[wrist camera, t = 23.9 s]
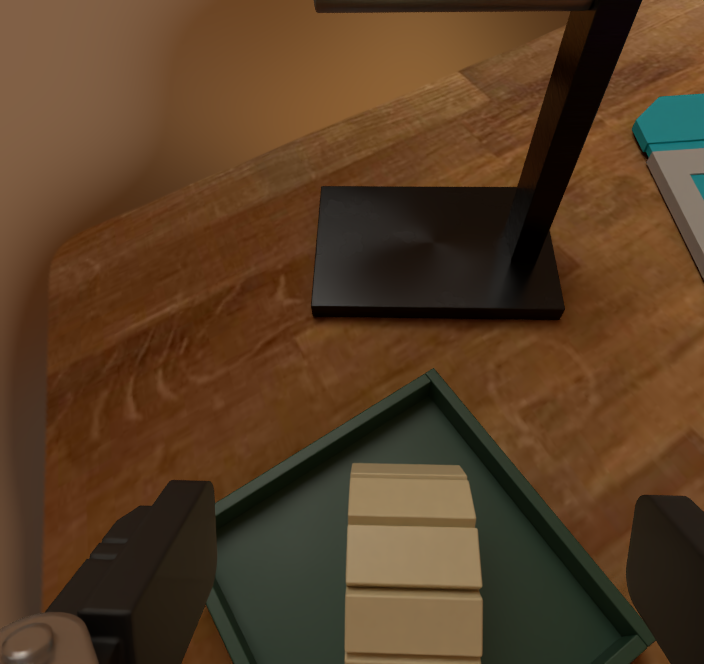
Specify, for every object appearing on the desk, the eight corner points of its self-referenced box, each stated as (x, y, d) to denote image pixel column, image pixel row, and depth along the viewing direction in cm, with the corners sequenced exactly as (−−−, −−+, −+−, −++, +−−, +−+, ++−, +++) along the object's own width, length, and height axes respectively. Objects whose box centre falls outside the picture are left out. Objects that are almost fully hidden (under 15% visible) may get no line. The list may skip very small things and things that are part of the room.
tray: (352, 893, 21) (350, 915, 19) (184, 540, 28) (170, 529, 26) (636, 641, 25) (658, 638, 23) (429, 386, 32) (433, 367, 30)
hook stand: (312, 317, 35) (263, 2, 19) (322, 198, 40) (290, -129, 24) (559, 320, 34) (732, -2, 18) (536, 199, 39) (654, -135, 23)
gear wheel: (349, 694, 24) (341, 701, 17) (354, 496, 28) (350, 435, 21) (455, 697, 24) (492, 706, 17) (444, 498, 28) (470, 437, 21)
